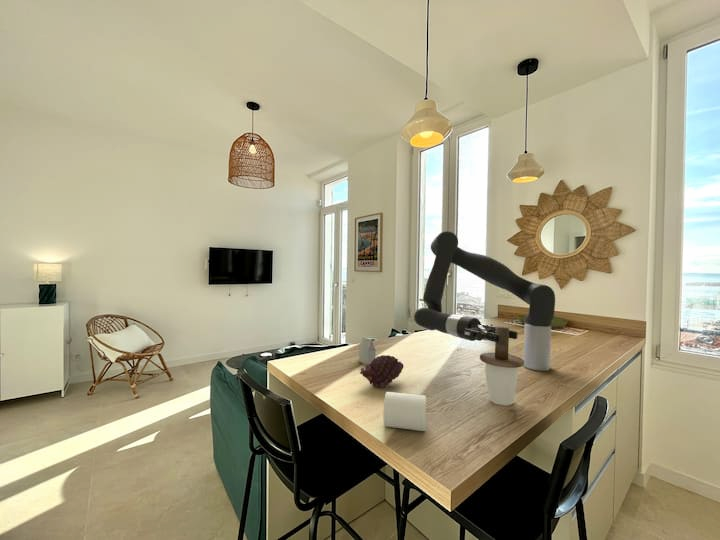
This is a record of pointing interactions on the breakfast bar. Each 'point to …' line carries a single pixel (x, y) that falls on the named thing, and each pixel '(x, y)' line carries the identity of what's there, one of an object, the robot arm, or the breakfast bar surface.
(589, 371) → the breakfast bar surface
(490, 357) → the lid
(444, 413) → the breakfast bar surface
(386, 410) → the white rounded block
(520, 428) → the breakfast bar surface
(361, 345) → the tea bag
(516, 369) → the cup
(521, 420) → the breakfast bar surface
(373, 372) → the pine cone
